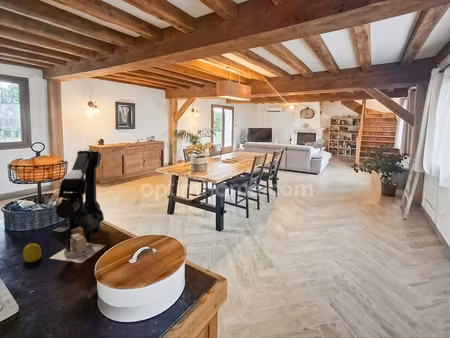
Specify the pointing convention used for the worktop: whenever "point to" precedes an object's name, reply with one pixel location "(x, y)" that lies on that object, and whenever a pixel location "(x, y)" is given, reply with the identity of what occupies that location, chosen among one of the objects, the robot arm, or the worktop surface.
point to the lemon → (32, 252)
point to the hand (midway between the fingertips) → (78, 246)
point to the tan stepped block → (78, 246)
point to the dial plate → (81, 258)
